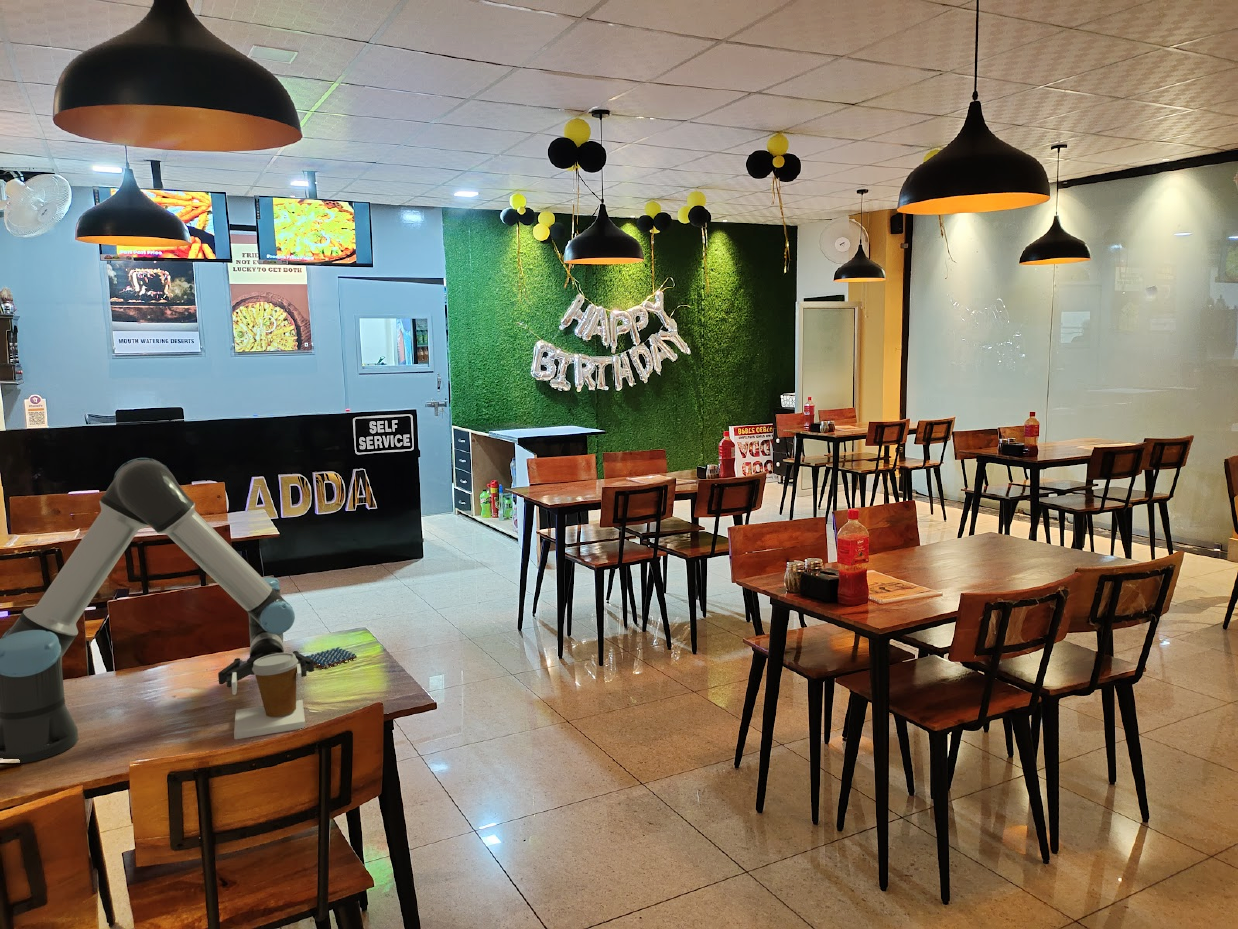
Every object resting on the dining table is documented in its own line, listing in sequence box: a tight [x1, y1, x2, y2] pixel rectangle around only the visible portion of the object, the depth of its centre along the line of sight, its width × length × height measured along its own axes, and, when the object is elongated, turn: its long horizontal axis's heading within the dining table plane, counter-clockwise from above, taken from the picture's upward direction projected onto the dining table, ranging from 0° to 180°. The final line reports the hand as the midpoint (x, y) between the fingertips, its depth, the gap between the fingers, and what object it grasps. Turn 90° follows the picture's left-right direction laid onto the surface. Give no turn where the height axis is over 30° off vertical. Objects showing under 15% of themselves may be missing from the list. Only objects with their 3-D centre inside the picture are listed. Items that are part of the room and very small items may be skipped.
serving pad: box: [233, 699, 306, 740], centre depth 190 cm, size 14×13×2 cm
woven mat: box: [306, 646, 358, 669], centre depth 228 cm, size 10×11×2 cm
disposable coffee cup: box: [252, 652, 298, 717], centre depth 190 cm, size 10×10×12 cm
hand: (267, 683), depth 185 cm, fingers open, 12 cm apart
